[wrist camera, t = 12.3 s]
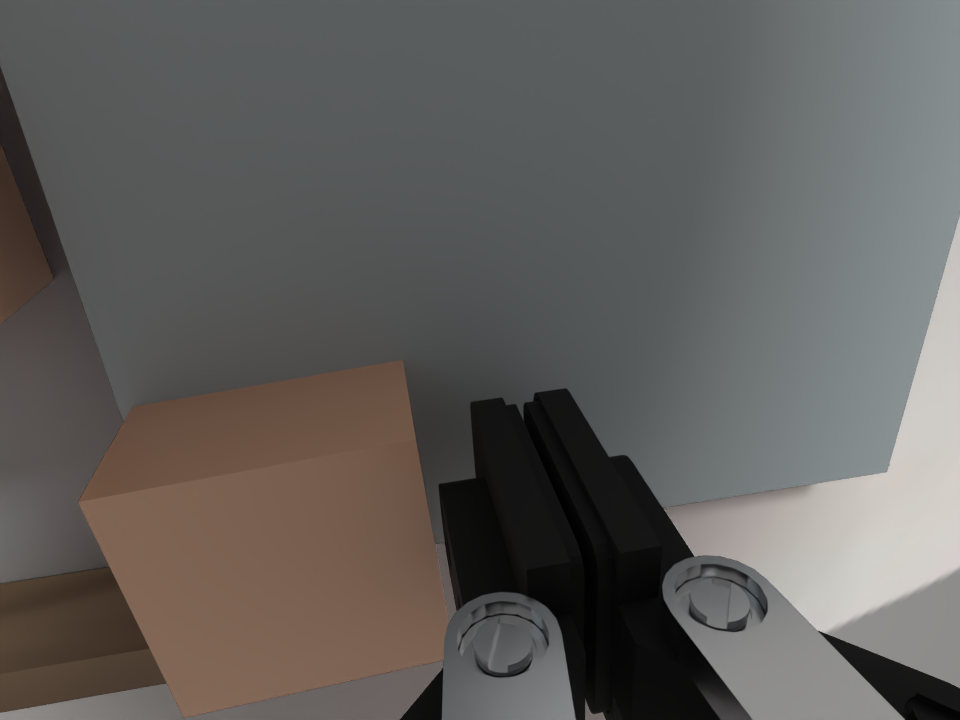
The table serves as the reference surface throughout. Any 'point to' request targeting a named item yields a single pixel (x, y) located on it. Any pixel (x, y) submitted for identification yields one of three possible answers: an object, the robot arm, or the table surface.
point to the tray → (69, 641)
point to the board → (514, 211)
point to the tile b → (274, 536)
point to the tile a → (18, 248)
